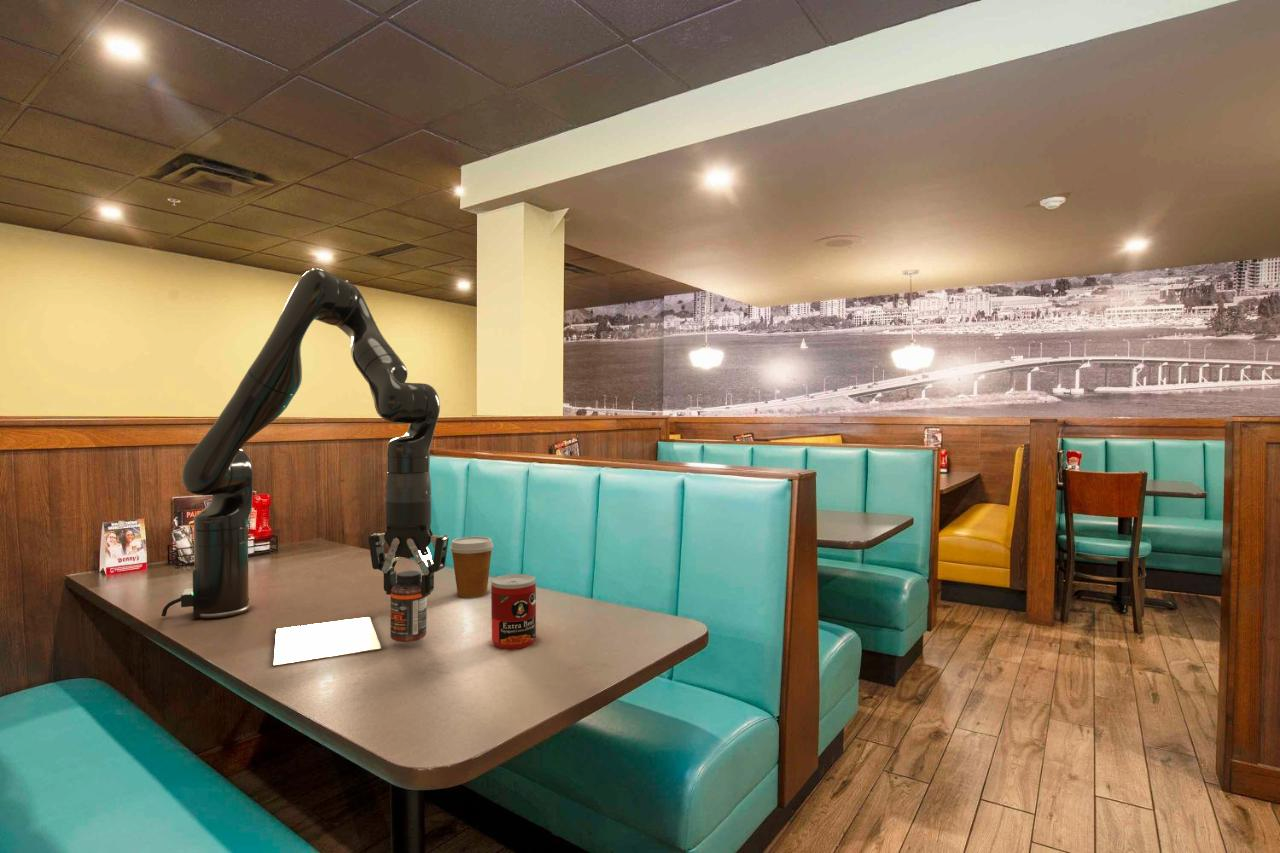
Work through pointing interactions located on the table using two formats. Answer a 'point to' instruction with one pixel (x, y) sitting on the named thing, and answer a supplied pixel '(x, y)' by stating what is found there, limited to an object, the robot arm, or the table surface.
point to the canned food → (513, 611)
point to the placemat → (324, 640)
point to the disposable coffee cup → (471, 565)
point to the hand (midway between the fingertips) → (408, 594)
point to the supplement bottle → (408, 608)
